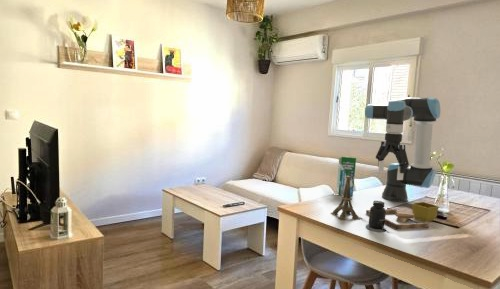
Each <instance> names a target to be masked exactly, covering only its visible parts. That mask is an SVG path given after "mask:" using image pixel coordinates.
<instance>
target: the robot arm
mask: <svg viewBox="0 0 500 289" xmlns="http://www.w3.org/2000/svg"><path fill="white" fill-rule="evenodd" d="M364 116H365V118H366V119H371V120H386V122H385V134H384V141H381V142H380V147H379V149H378V150H377V152H376V155H375V159H376V160H377V161H378V162H377V168H378V169H377V175H379V174H380V175H382V174H384V171H385V170H384V169H385V159H386V157H387V156H388V155H389V153H392V154H394V156H395V158H396V160H397V162H393V163H389V164H388V166H387V171H386V182H385V187H384V189H383V191H382V194H381V197H382V198H383V199H385V200H387V201H393V202H402V203H404V202H408V200H409V197H408V192H407V185H408V186H413V187H418V188H421V189H422V188H424V189H429V188H430V187H431V186H432V185H433V183H434V180H435V177H436V170H435V169H433V165H432V164H431V152H432V138H433V137H432V136H433V126H434V123H436V122H437V119H439V118H440V116H441V104H440V101H439V99H438V98H436V97H428V96H427V97H413V96H411V97H410V96H409V97H404V98H399V99H394V100H389V101H388V102H385V103H378V104H374V103H372V104H367V105H366V106H365V107H364ZM411 118H413V122H414V123H415V124H416V125H415V139H414V140H415V141H414V156H413V162H412V163H411V164H410V163H409V160H408V156H407V151H406V144H401V142H402V141H403V132H404V122H405V121H407V120H411Z"/></svg>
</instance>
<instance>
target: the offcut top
mask: <svg viewBox="0 0 500 289" xmlns="http://www.w3.org/2000/svg"><path fill="white" fill-rule="evenodd" d="M394 215H395V216H396V218H397V217H401V218H410V219H413V220H414V219H415V218H414V214H413V212H412V211H411V212H410V211H399V210H397V211H396V212H395V214H394Z"/></svg>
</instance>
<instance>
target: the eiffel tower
mask: <svg viewBox="0 0 500 289" xmlns="http://www.w3.org/2000/svg"><path fill="white" fill-rule="evenodd" d="M346 179H347V180H346V185H345V190H344V194H343V195H341V197H340V198H341V201H340V203H339V204H338V206H337V207H336V208H335V209H334V210H333V211H332V212H331V213H330V214H331V215H332V216H338V215H339V212H340V211H342V212H340V213H341V214H340V215H339V217H338V218H337V219H339V220H340V221H347V219H346V215H349V216H350V215H351V218H352V219H353V220H354V221H356V220H357V221H358V220H361V219H360V218H359V217H358V215H357V213H356V212H355V210H354V206H353V205H352V200H353V199H352V197H351V196H350V179H351V177H350V176H349V174H348V176H346Z"/></svg>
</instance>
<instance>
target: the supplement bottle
mask: <svg viewBox="0 0 500 289" xmlns="http://www.w3.org/2000/svg"><path fill="white" fill-rule="evenodd" d="M385 204H386V203H385V202H384V201H382V200H373V202H372V206H371V207H370V208H369V210H370V215H368V223H367V224H368V225H369V227H371V228H374V229H383V228H384V227H385V225H386V224H385V219H386V215H387V214H386V210H385V209H386V208H385ZM384 229H385V228H384Z"/></svg>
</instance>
